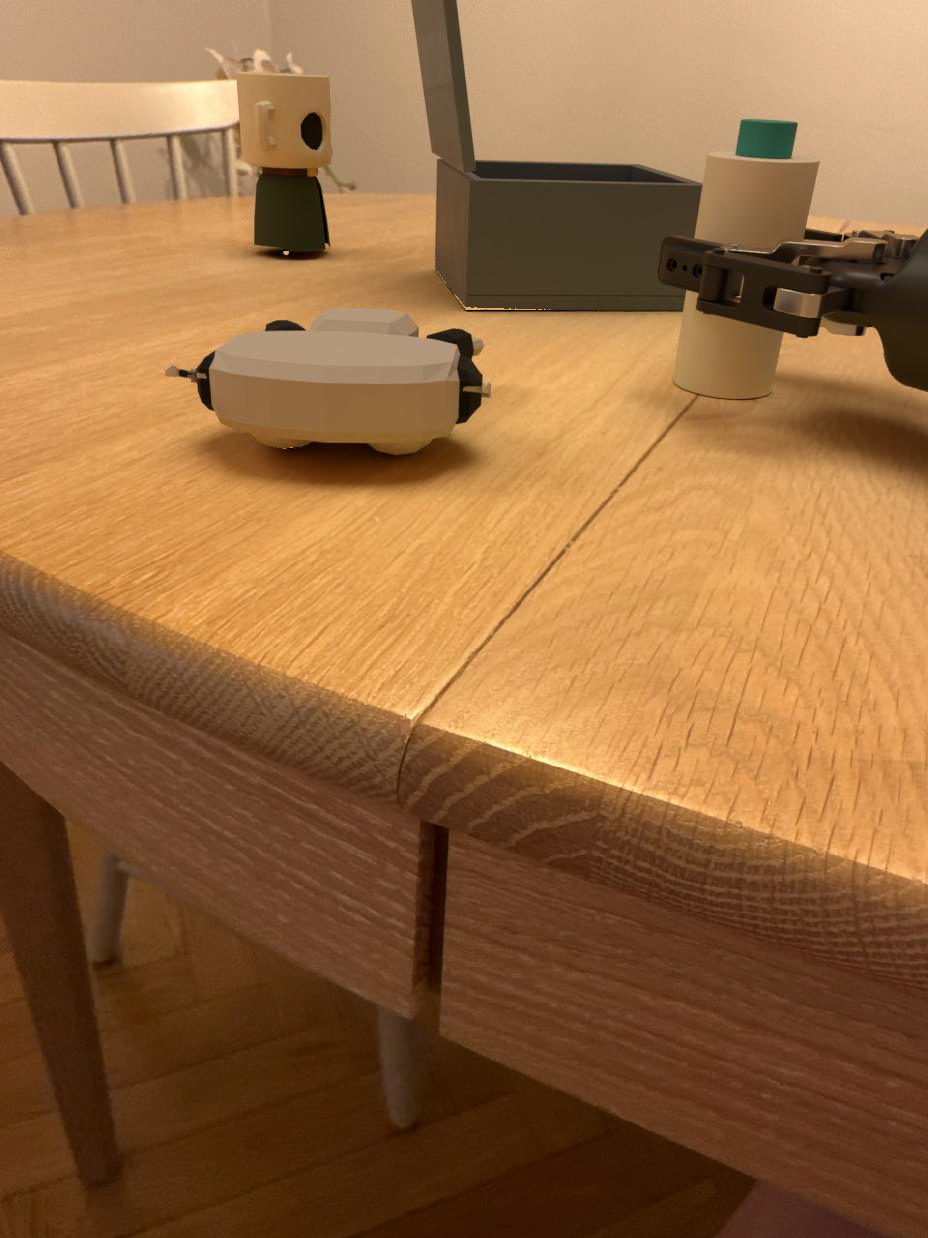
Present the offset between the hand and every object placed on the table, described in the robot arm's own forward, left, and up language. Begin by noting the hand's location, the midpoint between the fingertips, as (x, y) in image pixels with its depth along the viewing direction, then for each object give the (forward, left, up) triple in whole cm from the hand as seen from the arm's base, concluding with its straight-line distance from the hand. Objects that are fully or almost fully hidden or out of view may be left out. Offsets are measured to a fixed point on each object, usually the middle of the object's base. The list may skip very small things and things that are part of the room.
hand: (721, 251), depth 48 cm
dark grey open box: (+2, -23, -7) cm, 24 cm away
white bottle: (-1, +1, -7) cm, 7 cm away
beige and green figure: (+21, -37, -7) cm, 43 cm away
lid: (+11, -23, +10) cm, 27 cm away
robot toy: (+19, +6, -7) cm, 21 cm away
